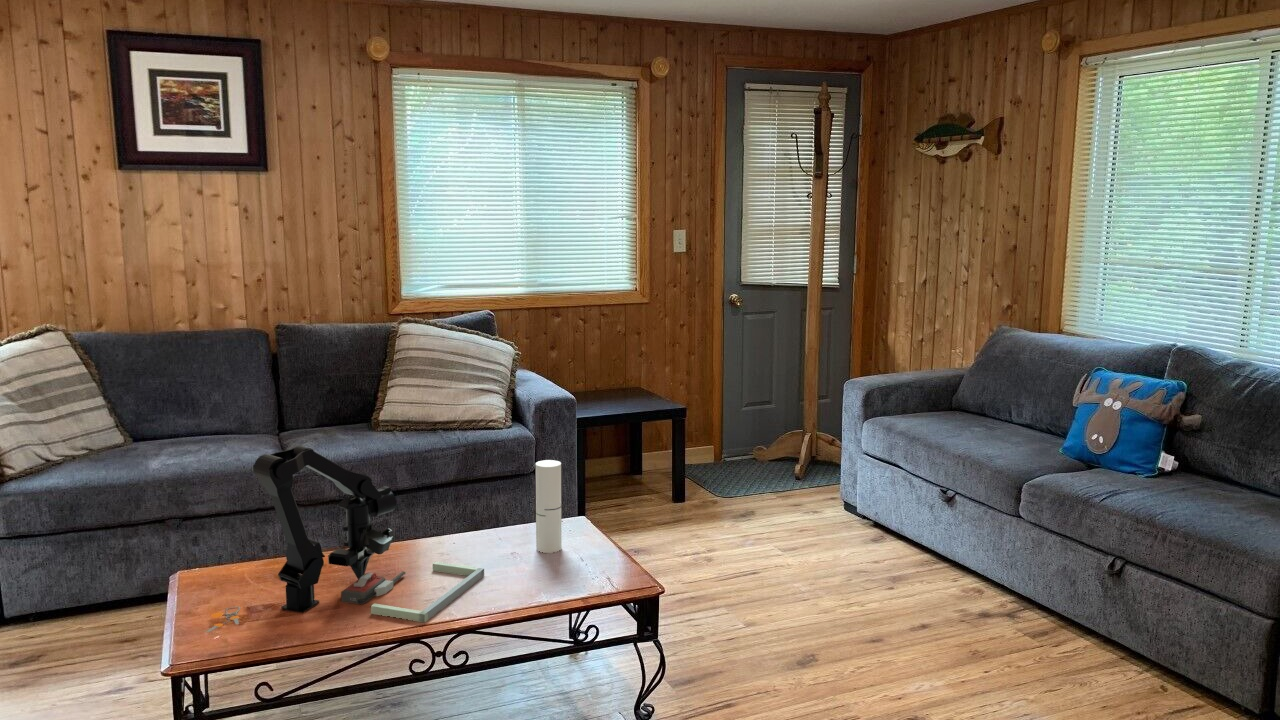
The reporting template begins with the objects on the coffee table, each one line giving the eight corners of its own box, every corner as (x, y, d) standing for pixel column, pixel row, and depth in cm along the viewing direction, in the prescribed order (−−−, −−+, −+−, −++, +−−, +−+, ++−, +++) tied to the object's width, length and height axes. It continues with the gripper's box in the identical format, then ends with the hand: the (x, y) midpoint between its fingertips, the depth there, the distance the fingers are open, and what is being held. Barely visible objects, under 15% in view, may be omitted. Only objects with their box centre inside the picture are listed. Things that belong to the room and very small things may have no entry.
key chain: (212, 611, 230) (212, 607, 230) (245, 607, 232) (244, 604, 232) (203, 634, 218) (203, 630, 218) (238, 630, 220) (237, 627, 220)
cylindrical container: (560, 553, 269) (560, 467, 265) (535, 553, 269) (534, 466, 265) (562, 544, 276) (561, 460, 272) (537, 544, 276) (536, 459, 272)
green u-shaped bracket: (424, 622, 224) (424, 614, 224) (371, 613, 229) (370, 605, 228) (484, 575, 252) (484, 568, 252) (435, 568, 257) (435, 561, 256)
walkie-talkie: (369, 608, 232) (408, 577, 251) (368, 591, 232) (407, 561, 251) (336, 605, 234) (378, 574, 254) (336, 587, 234) (377, 558, 253)
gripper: (364, 536, 233) (367, 597, 235) (405, 513, 250) (407, 570, 253) (325, 531, 236) (328, 591, 239) (368, 508, 254) (370, 564, 256)
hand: (360, 579), depth 247 cm, fingers closed
